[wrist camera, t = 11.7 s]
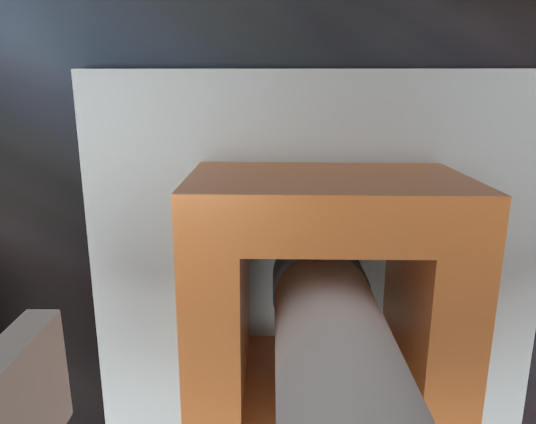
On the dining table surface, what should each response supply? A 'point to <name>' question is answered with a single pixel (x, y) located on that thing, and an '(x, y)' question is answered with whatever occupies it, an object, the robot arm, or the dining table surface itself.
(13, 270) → the dining table surface
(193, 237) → the collar
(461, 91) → the post stand
